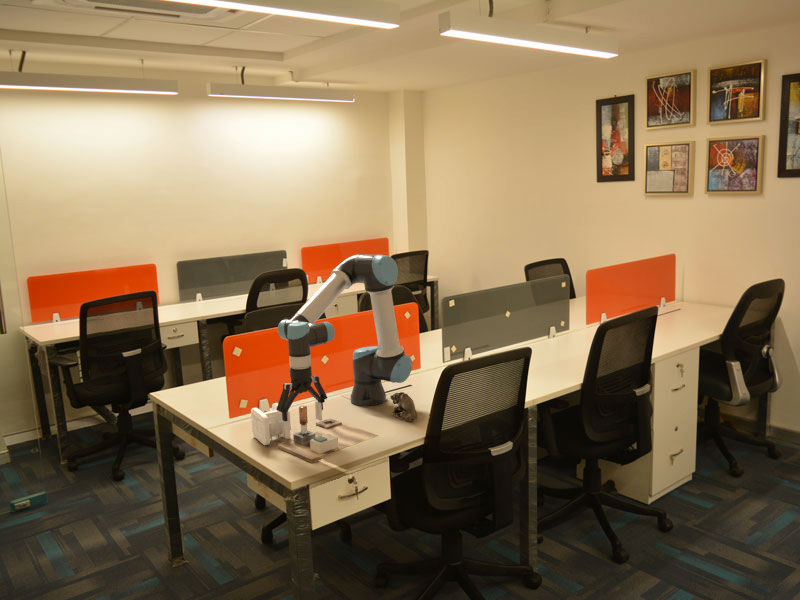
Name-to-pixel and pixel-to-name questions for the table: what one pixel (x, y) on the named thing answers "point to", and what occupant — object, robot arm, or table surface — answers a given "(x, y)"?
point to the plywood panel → (302, 443)
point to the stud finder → (323, 443)
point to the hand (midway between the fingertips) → (303, 424)
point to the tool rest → (327, 426)
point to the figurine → (404, 407)
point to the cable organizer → (268, 425)
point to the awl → (303, 419)
